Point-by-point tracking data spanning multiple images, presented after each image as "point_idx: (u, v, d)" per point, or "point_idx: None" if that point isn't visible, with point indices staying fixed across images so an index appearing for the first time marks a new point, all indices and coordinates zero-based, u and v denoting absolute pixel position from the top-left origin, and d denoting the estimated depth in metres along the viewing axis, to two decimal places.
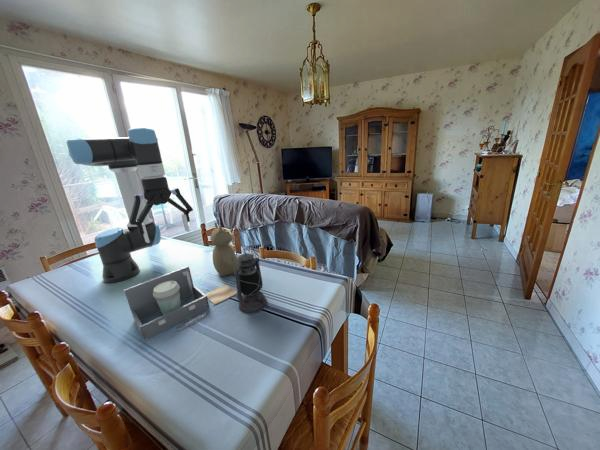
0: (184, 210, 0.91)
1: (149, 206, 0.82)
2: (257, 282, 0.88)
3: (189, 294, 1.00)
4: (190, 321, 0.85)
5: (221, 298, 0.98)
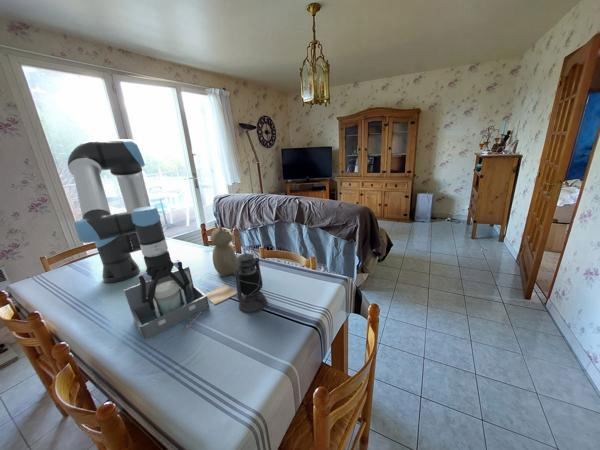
0: (182, 284, 0.90)
1: (155, 282, 0.83)
2: (257, 282, 0.88)
3: (189, 294, 1.00)
4: (191, 321, 0.85)
5: (221, 298, 0.98)
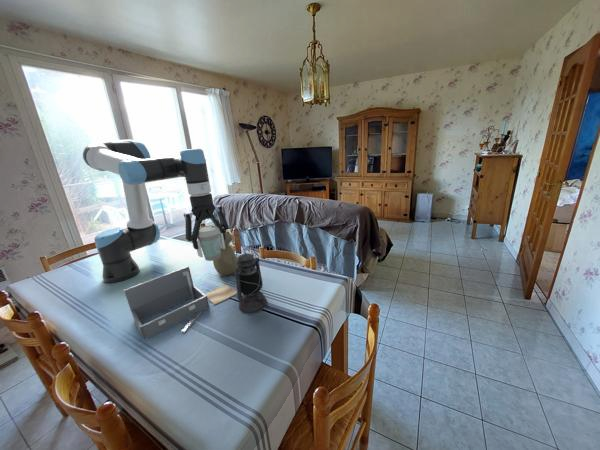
0: (222, 228, 0.95)
1: (199, 222, 0.88)
2: (257, 282, 0.88)
3: (189, 294, 1.00)
4: (191, 321, 0.85)
5: (221, 298, 0.98)
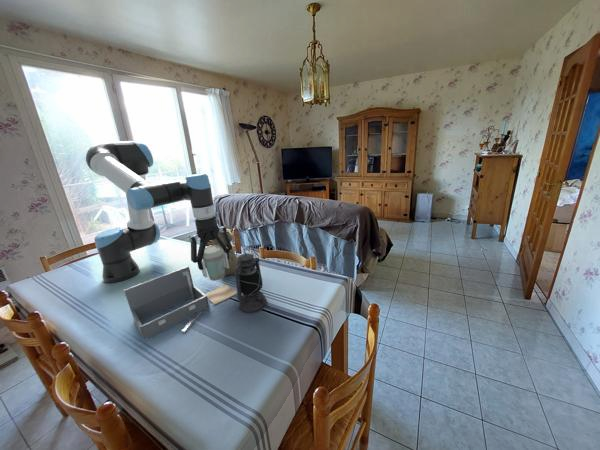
0: (225, 248, 0.97)
1: (204, 244, 0.91)
2: (257, 282, 0.88)
3: (189, 294, 1.00)
4: (191, 321, 0.85)
5: (221, 298, 0.98)
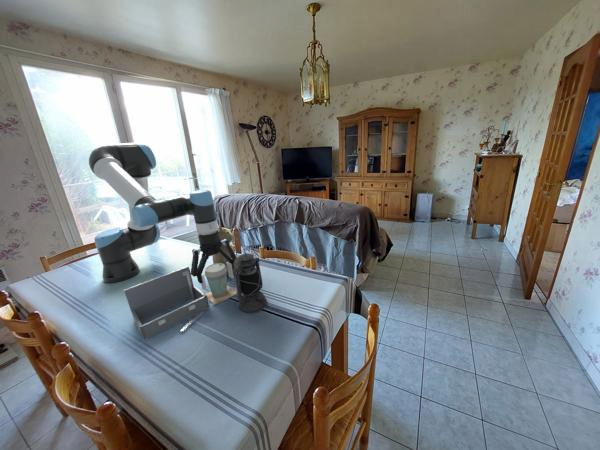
0: (230, 259, 1.00)
1: (206, 258, 0.92)
2: (257, 282, 0.88)
3: (189, 294, 1.00)
4: (191, 321, 0.85)
5: (221, 298, 0.98)
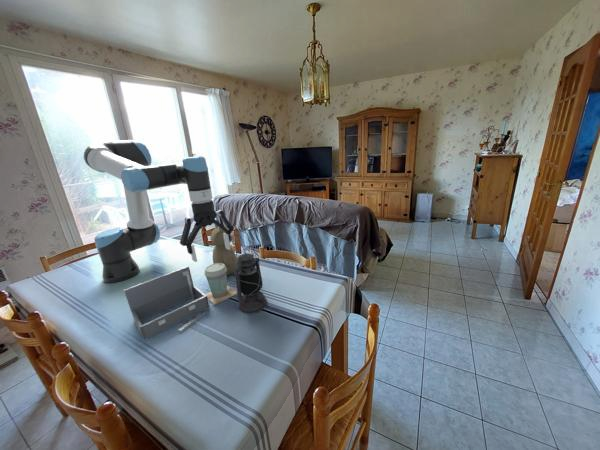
0: (227, 230, 0.97)
1: (198, 228, 0.88)
2: (257, 282, 0.88)
3: (189, 294, 1.00)
4: (190, 321, 0.85)
5: (221, 298, 0.98)
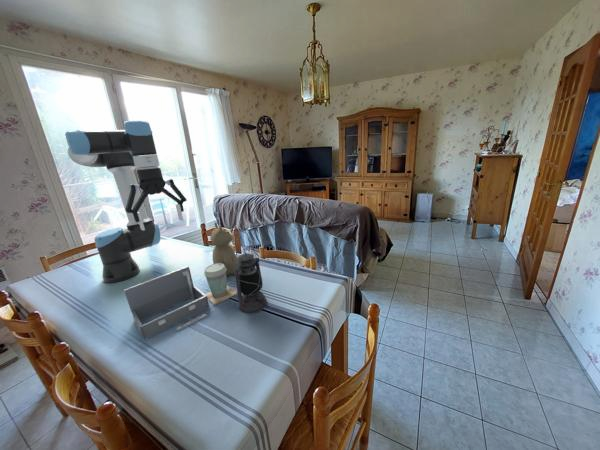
0: (178, 200, 0.95)
1: (144, 195, 0.87)
2: (257, 282, 0.88)
3: (189, 294, 1.00)
4: (190, 321, 0.85)
5: (221, 298, 0.98)
